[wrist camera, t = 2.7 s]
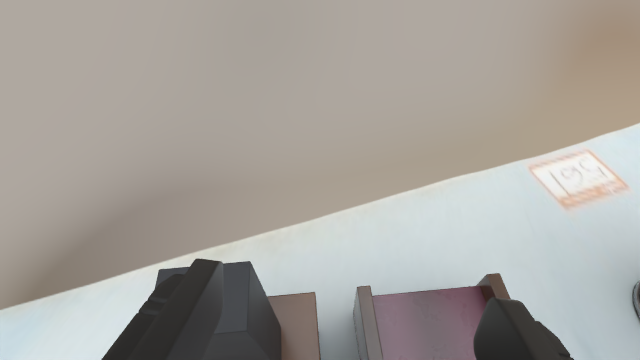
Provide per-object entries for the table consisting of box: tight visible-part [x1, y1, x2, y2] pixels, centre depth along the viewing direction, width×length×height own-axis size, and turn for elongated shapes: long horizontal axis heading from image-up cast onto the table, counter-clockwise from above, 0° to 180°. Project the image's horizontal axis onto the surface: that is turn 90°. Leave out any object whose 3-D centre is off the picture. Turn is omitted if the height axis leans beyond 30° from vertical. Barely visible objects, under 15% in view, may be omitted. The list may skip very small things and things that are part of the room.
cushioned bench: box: [353, 273, 511, 360], centre depth 30 cm, size 13×9×8 cm
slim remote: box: [155, 261, 281, 360], centre depth 20 cm, size 4×3×12 cm
